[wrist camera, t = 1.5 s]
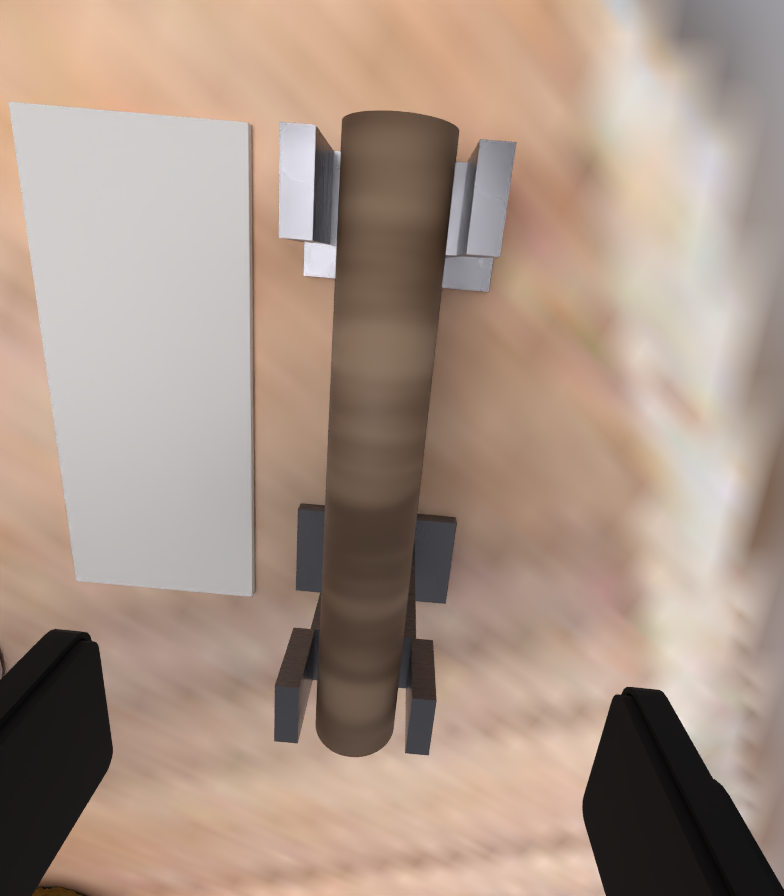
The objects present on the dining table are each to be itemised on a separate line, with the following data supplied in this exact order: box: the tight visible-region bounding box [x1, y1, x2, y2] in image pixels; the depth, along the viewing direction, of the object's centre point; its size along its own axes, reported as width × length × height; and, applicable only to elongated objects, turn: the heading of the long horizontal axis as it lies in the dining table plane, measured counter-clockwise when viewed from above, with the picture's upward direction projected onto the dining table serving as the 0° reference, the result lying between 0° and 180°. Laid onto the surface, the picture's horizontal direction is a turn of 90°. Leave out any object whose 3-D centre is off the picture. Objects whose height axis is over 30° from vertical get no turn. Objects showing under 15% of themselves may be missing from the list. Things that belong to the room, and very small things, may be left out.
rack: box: [274, 122, 516, 755], centre depth 25 cm, size 26×10×14 cm, turn 175°
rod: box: [316, 111, 459, 757], centre depth 20 cm, size 24×4×4 cm, turn 175°
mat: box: [9, 102, 255, 597], centre depth 31 cm, size 28×12×1 cm, turn 175°
